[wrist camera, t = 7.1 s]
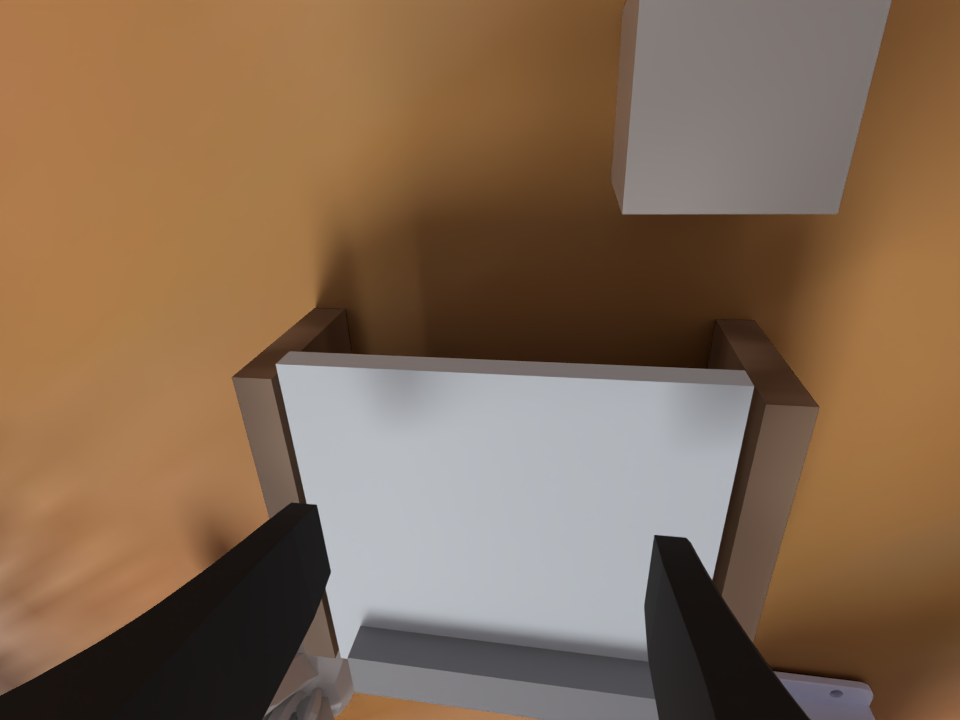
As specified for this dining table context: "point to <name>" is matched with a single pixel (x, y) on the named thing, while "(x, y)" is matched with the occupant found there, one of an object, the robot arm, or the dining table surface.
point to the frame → (735, 346)
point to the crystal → (312, 689)
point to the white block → (741, 103)
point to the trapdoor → (507, 518)
